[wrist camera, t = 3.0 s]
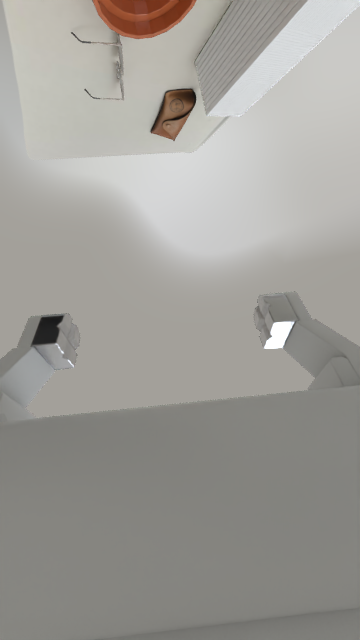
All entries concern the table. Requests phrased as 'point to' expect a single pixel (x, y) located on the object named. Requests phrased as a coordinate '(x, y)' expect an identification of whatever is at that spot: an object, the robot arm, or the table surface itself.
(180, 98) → the sunglasses case
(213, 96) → the white ribbed block
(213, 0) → the table surface
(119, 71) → the eyeglasses
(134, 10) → the bowl
